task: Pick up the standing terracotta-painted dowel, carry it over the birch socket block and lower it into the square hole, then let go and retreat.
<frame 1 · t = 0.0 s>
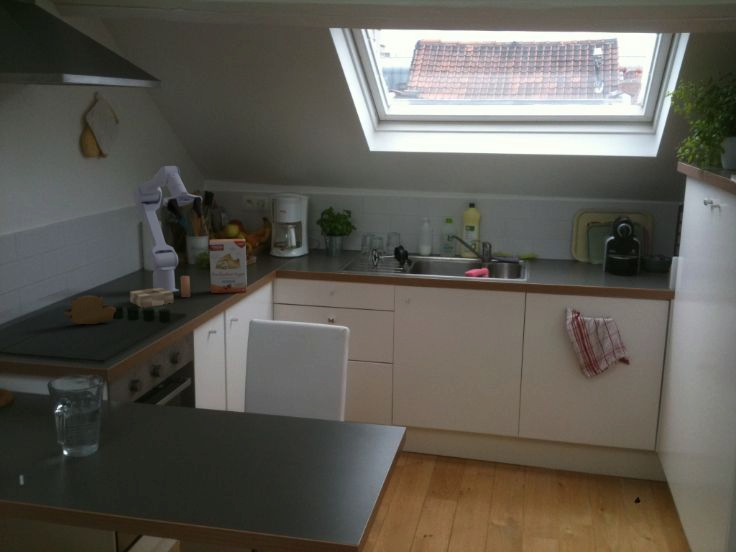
hand: (190, 216, 270), 32 cm above the kitchen counter, tool tilted 50°, fingers open, 7 cm apart
cracker box: (229, 292, 297), on the kitchen counter
wooden carving: (91, 324, 248), on the kitchen counter
peg: (186, 296, 288), on the kitchen counter
socket block: (151, 302, 278), on the kitchen counter
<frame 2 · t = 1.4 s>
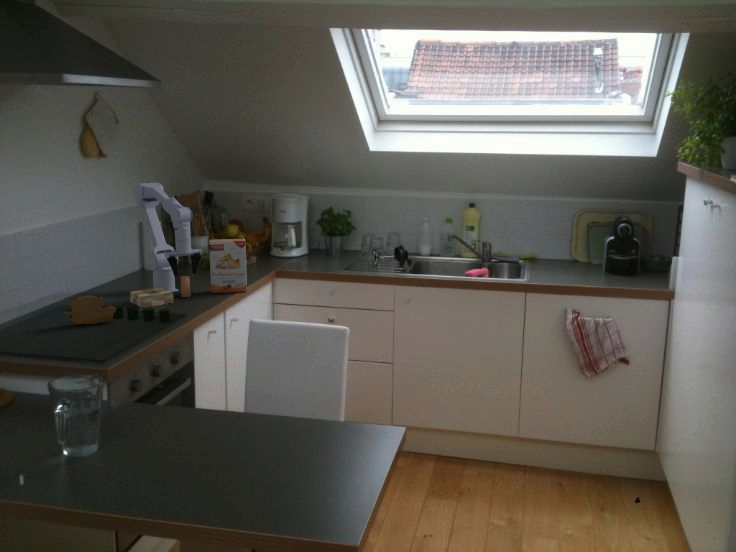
hand: (184, 274, 286), 9 cm above the kitchen counter, tool pointing down, fingers open, 7 cm apart
nothing on the kitchen counter moved.
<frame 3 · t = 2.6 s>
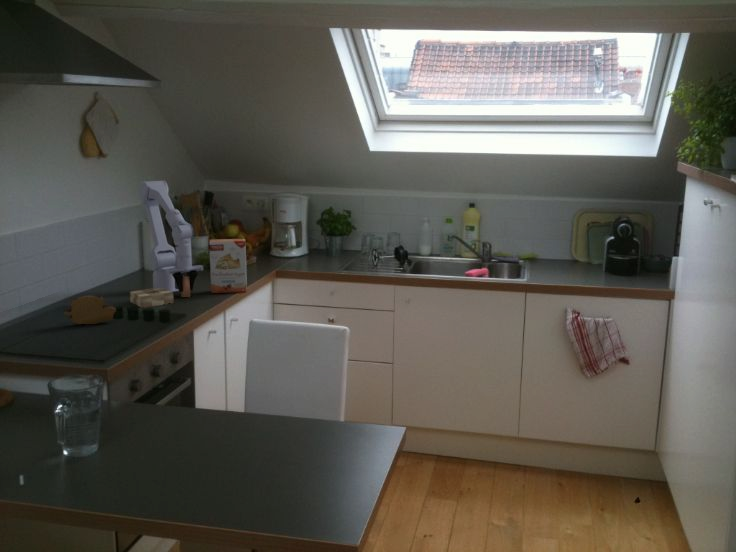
hand: (185, 290, 287), 2 cm above the kitchen counter, tool pointing down, fingers closed on peg, 3 cm apart
peg: (186, 296, 288), on the kitchen counter, touching gripper
everything else where it was.
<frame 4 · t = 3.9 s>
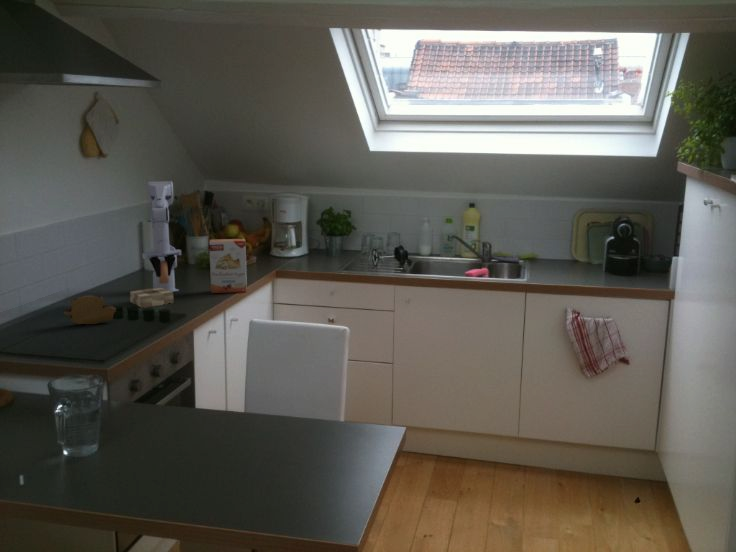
hand: (163, 275, 280), 9 cm above the kitchen counter, tool pointing down, fingers closed on peg, 3 cm apart
peg: (163, 282, 280), point 7 cm above the kitchen counter, touching gripper
everything else where it was.
when the fingers open (5 cm above the kitchen counter, at t = 5.4 s): peg drops 2 cm, resting on socket block.
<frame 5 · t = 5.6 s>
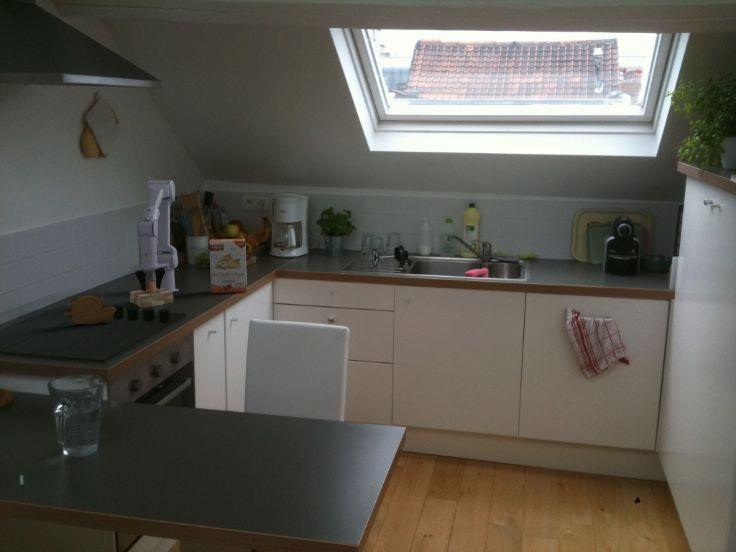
hand: (151, 289, 278), 5 cm above the kitchen counter, tool pointing down, fingers open, 5 cm apart
peg: (151, 301, 278), resting on socket block
everything else where it was.
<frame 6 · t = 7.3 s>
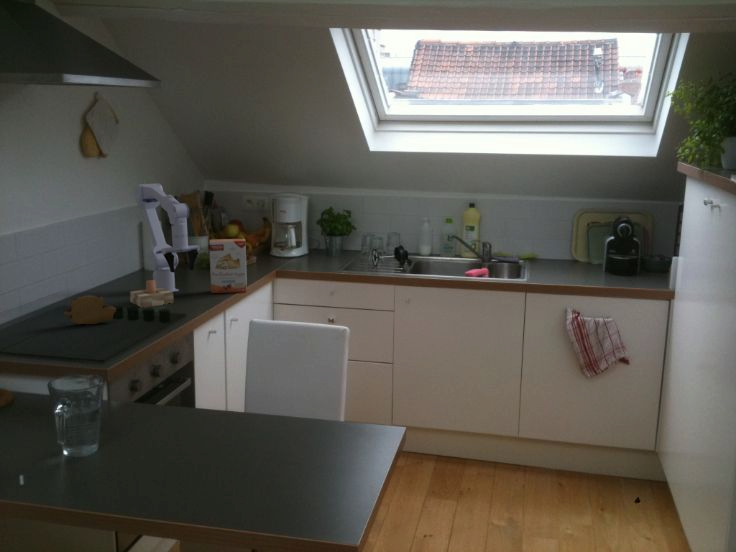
hand: (181, 270, 285), 10 cm above the kitchen counter, tool pointing down, fingers open, 7 cm apart
nothing on the kitchen counter moved.
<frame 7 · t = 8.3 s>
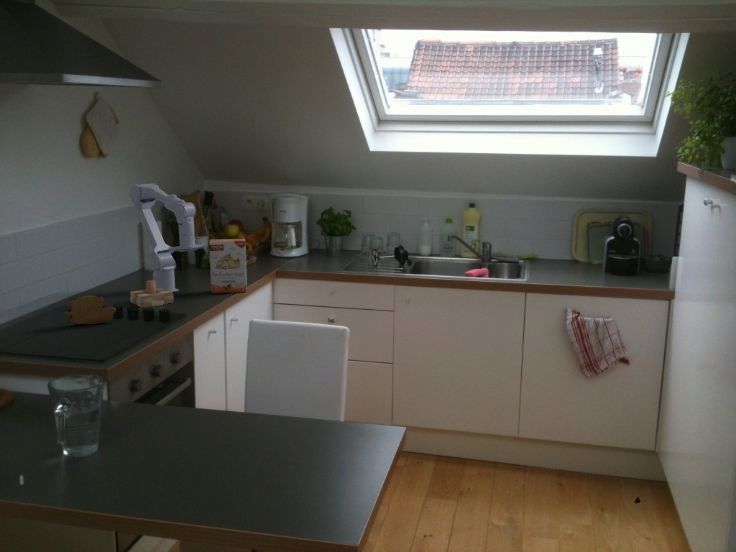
hand: (189, 269, 287), 10 cm above the kitchen counter, tool pointing down, fingers open, 7 cm apart
nothing on the kitchen counter moved.
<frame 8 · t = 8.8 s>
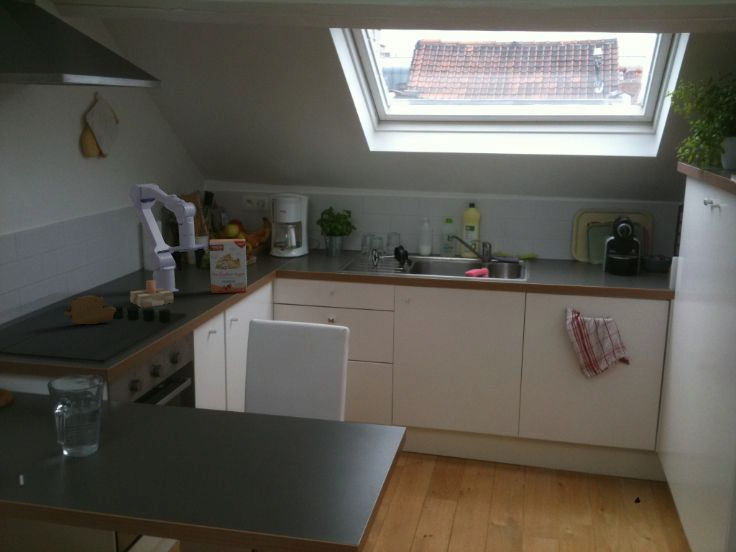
hand: (189, 269, 287), 10 cm above the kitchen counter, tool pointing down, fingers open, 7 cm apart
nothing on the kitchen counter moved.
at the end: peg 0.1 cm off-centre on the socket block, point 0.2 cm above the socket block's base; peg tilted 0°; the gripper is holding nothing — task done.
